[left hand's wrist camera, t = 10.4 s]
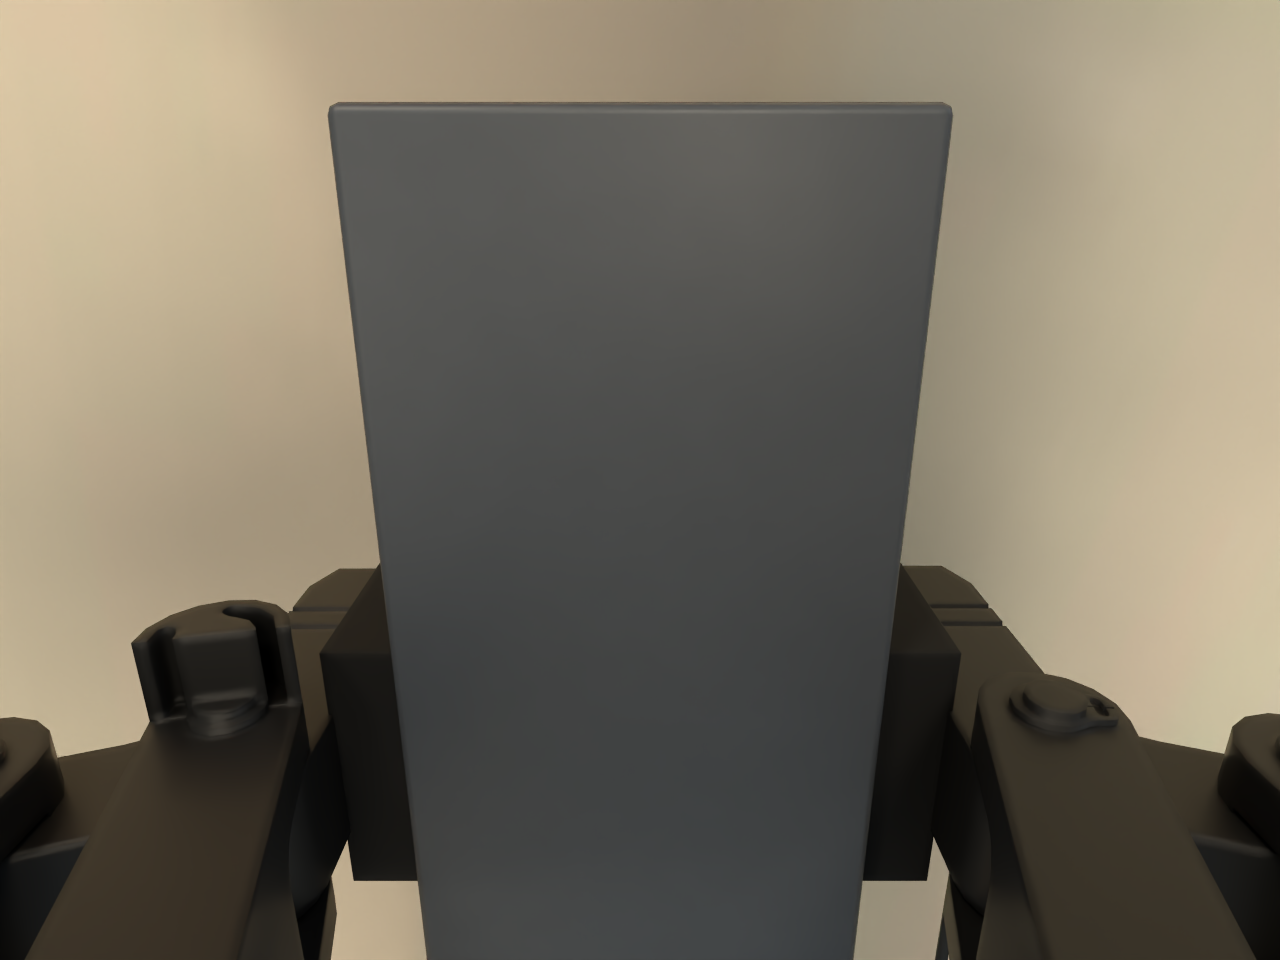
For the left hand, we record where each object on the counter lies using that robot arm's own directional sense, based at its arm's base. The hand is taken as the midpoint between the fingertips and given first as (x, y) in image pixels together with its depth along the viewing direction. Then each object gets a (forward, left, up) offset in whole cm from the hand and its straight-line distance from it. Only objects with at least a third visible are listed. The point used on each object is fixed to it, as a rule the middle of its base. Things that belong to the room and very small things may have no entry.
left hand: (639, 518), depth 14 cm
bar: (+30, -13, -1) cm, 33 cm away
